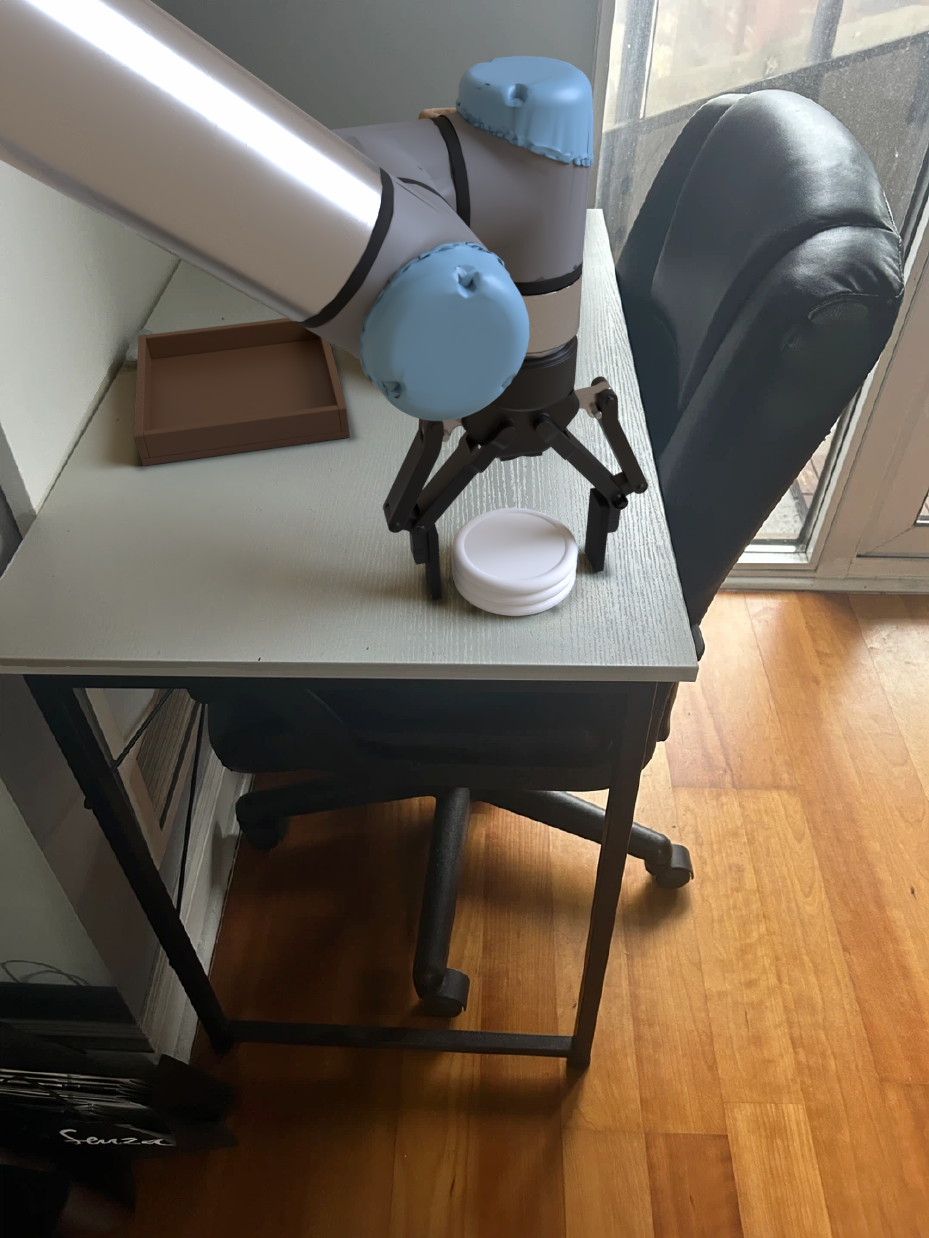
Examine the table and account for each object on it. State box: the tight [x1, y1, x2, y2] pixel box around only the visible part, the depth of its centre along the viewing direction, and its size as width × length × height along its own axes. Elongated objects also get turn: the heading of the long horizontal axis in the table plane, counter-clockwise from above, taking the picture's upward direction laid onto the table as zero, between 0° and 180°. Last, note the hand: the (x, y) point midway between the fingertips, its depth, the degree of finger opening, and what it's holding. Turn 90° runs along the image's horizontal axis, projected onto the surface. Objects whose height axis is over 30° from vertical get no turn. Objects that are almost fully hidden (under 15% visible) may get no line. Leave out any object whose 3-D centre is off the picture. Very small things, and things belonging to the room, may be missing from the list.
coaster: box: [450, 507, 579, 617], centre depth 75 cm, size 10×10×4 cm
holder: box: [133, 317, 351, 467], centre depth 95 cm, size 20×20×3 cm
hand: (514, 574), depth 77 cm, fingers open, 13 cm apart
